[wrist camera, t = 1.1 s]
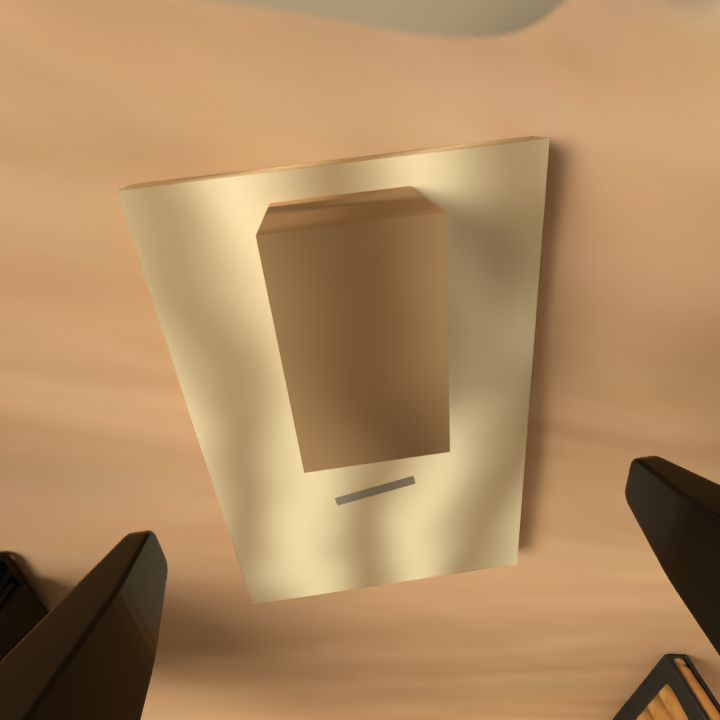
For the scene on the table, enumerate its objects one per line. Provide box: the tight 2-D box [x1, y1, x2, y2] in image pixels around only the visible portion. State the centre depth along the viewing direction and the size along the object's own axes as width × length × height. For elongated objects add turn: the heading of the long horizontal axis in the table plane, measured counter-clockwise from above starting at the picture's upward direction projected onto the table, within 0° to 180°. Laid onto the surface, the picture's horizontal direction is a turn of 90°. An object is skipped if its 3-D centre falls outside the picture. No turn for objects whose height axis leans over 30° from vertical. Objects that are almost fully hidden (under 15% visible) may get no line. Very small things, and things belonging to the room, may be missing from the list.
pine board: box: [117, 136, 550, 605], centre depth 22 cm, size 15×22×2 cm
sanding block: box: [256, 186, 450, 473], centre depth 17 cm, size 5×8×5 cm, turn 6°
